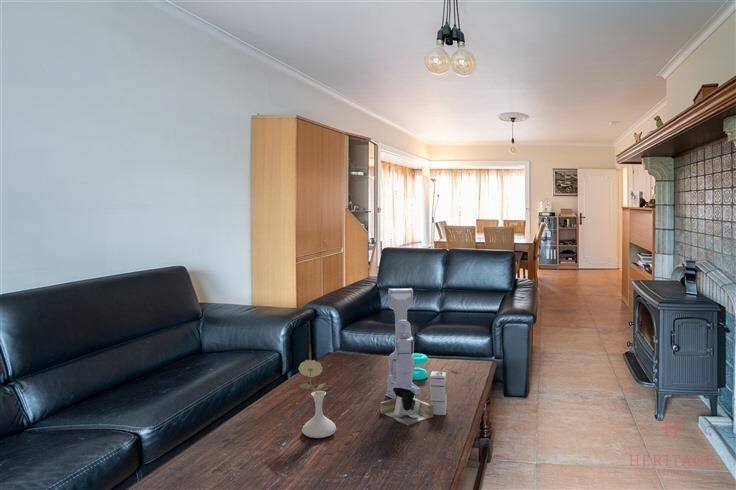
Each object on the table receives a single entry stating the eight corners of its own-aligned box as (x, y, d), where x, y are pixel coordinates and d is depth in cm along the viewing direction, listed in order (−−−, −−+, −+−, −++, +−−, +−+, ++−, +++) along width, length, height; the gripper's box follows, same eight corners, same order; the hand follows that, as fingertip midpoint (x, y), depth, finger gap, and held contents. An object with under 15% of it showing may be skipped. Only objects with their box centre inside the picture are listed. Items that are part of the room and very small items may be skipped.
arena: (380, 413, 180) (380, 402, 180) (406, 404, 188) (406, 394, 188) (406, 426, 169) (406, 414, 169) (433, 416, 176) (433, 405, 176)
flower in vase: (341, 429, 167) (340, 357, 166) (328, 443, 156) (326, 366, 155) (307, 424, 171) (305, 354, 170) (291, 438, 160) (290, 363, 159)
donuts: (420, 359, 214) (401, 356, 220) (421, 382, 214) (401, 378, 220) (431, 354, 222) (412, 351, 228) (431, 376, 222) (413, 372, 228)
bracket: (408, 413, 179) (411, 396, 179) (417, 417, 175) (420, 400, 175) (394, 412, 175) (397, 396, 175) (403, 417, 171) (406, 400, 171)
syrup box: (446, 415, 177) (446, 376, 177) (429, 414, 179) (429, 375, 178) (447, 409, 183) (446, 371, 182) (431, 408, 184) (431, 370, 184)
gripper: (383, 368, 179) (383, 405, 179) (409, 378, 167) (409, 417, 168) (398, 365, 183) (398, 400, 184) (424, 374, 171) (424, 412, 172)
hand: (404, 408), depth 176 cm, fingers closed on bracket, 2 cm apart
